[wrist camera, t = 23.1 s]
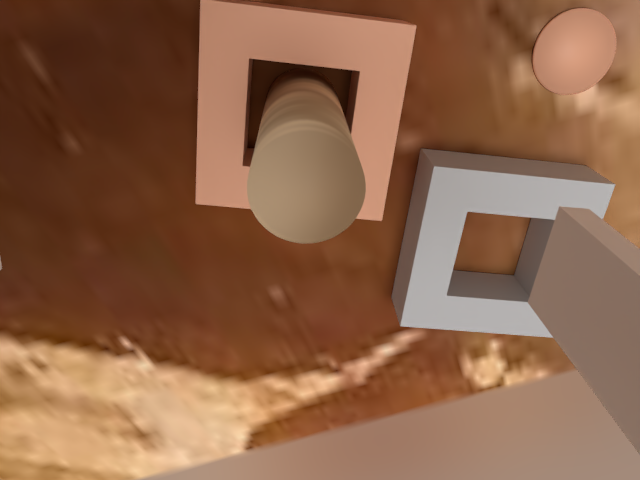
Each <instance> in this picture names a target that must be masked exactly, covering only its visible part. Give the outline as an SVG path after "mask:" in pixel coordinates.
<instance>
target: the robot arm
mask: <svg viewBox="0 0 640 480" xmlns="http://www.w3.org/2000/svg"><path fill="white" fill-rule="evenodd" d="M1 269H2V265H1V258H0V270H1ZM528 304H529V305H530V306H531V308H532V309H533V310H534V312H535V313H536V315H537V316H538V317H539V319H540V320H541V321H542V323H543V324H544V325H545V327H546V328H547V329H548V331H549V332H550V334H551V335H552V336H553V338H554V339H555V340H556V342H557V343H558V344H559V346H560V347H561V348H562V350H563V351H564V353H565V354H566V355H567V357H568V358H569V359H570V361H571V362H572V363H573V365H574V366H575V367H576V369H577V370H578V372H579V373H580V374H581V376H582V377H583V378H584V380H585V381H586V382H587V384H588V385H589V387H590V388H591V389H592V390H593V392H594V393H595V395H596V396H597V397H598V399H599V400H600V401H601V403H602V404H603V406H604V407H605V408H606V410H607V411H608V412H609V414H610V415H611V416H612V418H613V419H614V420H615V422H616V423H617V425H618V426H619V427H620V428H621V430H622V431H623V433H624V434H625V435H626V437H627V438H628V439H629V441H630V442H631V443H632V445H633V446H634V447H635V449H636V450H637V452H638V453H639V454H640V249H639V248H638V247H637V246H635V245H634V244H633V243H632V242H630V241H629V240H628V239H626V238H625V237H624V236H623V235H621V234H620V233H619V232H618V231H616V230H615V229H614V228H613V227H611V226H610V225H609V224H607V223H606V222H605V221H604V220H602V219H601V218H600V217H599V216H597V215H596V214H595V213H594V212H592V211H591V210H590V209H585V208H573V207H562V206H559V209H558V212H557V215H556V218H555V221H554V224H553V227H552V230H551V233H550V236H549V239H548V242H547V245H546V248H545V251H544V254H543V257H542V260H541V263H540V266H539V269H538V272H537V275H536V278H535V282H534V285H533V288H532V291H531V294H530V297H529V300H528Z"/></svg>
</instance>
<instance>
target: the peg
mask: <svg viewBox="0 0 640 480" xmlns="http://www.w3.org/2000/svg"><path fill="white" fill-rule="evenodd" d="M365 192H366V182H365V176H364V172H363V169H362V166H361V163H360V160H359V157H358V154H357V151H356V148H355V145H354V143H353V140H352V137H351V134H350V131H349V128H348V125H347V122H346V119H345V116H344V113H343V111H342V108H341V105H340V102H339V99H338V96H337V93H336V91H335V88H334V87H333V85H332V83H331V82H330V81H329V80H328V79H327V78H326V77H325V76H324V75H322V74H321V73H319V72H317V71H315V70H312V69H307V68H297V69H292V70H289V71H287V72H285V73H283V74H282V75H280V76H279V77H278V78H277V79H276V80H275V81H274V82H273V83H272V85H271V86H270V89H269V91H268V94H267V97H266V102H265V106H264V110H263V114H262V119H261V123H260V127H259V131H258V136H257V140H256V144H255V149H254V153H253V157H252V161H251V166H250V170H249V174H248V180H247V196H248V200H249V204H250V207H251V209H252V211H253V213H254V215H255V217H256V218H257V219H258V221H259V222H260V223H261V224H262V225H263V226H264V227H265V228H266V229H267V230H268V231H269V232H271V233H272V234H274V235H276V236H277V237H280V238H282V239H284V240H287V241H290V242H295V243H317V242H322V241H325V240H328V239H330V238H333V237H335V236H337V235H338V234H340V233H341V232H343V231H344V230H345V229H347V228H348V227H349V226H350V225H351V224H352V222H353V221H354V220H355V219H356V217H357V216H358V214H359V212H360V210H361V208H362V206H363V202H364V199H365Z"/></svg>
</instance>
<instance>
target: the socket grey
mask: <svg viewBox="0 0 640 480" xmlns="http://www.w3.org/2000/svg"><path fill="white" fill-rule="evenodd" d="M614 187H615V184H614V183H612V182H611V181H609V180H608V179H606V178H605V177H603V176H601V175H600V174H598V173H597V172H595V171H594V170H592V169H591V168H589V167H588V166H586V165H577V164H568V163H558V162H548V161H539V160H529V159H519V158H510V157H500V156H490V155H480V154H471V153H461V152H451V151H442V150H432V149H422V148H421V150H420V155H419V160H418V166H417V171H416V176H415V181H414V186H413V191H412V196H411V201H410V206H409V211H408V216H407V221H406V226H405V231H404V236H403V241H402V246H401V251H400V256H399V261H398V266H397V271H396V276H395V281H394V287H393V292H392V301H393V304H394V307H395V311H396V314H397V317H398V320H399V324H400V326H404V327H418V328H431V329H445V330H458V331H472V332H485V333H499V334H512V335H526V336H539V337H553V336H552V335H551V334H550V332H549V331H548V329H547V328H546V327H545V325H544V324H543V323H542V321H541V320H540V319H539V317H538V316H537V315H536V313H535V312H534V310H533V309H532V308H531V306H530V305H529V304H528V300H529V297H530V294H531V291H532V288H533V285H534V282H535V278H536V275H537V272H538V269H539V266H540V263H541V260H542V257H543V254H544V251H545V248H546V245H547V242H548V239H549V236H550V233H551V230H552V227H553V224H554V221H555V218H556V215H557V212H558V209H559V206H562V207H573V208H585V209H590V210H591V211H592V212H594V213H595V214H596V215H597V216H599V217H600V218H601V219H602V220H603V217H604V215H605V212H606V209H607V206H608V204H609V201H610V198H611V195H612V192H613V190H614ZM467 212H477V213H488V214H499V215H509V216H520V217H531V221H530V224H529V227H528V231H527V234H526V237H525V241H524V244H523V247H522V251H521V254H520V257H519V261H518V264H517V267H516V270H515V274H514V275H504V274H492V273H480V272H468V271H456V270H453V267H454V263H455V259H456V255H457V251H458V247H459V243H460V239H461V235H462V231H463V227H464V223H465V219H466V215H467Z"/></svg>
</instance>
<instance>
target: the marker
mask: <svg viewBox="0 0 640 480" xmlns="http://www.w3.org/2000/svg"><path fill="white" fill-rule="evenodd" d="M615 52H616V34H615V30H614V28H613V26H612V24H611V22H610V21H609V20H608V18H607V17H606V16H604V15H603V14H602V13H600V12H598V11H596V10H593V9H588V8H575V9H570V10H567V11H565V12H563V13H561V14H559V15H557V16H556V17H554V18H553V19H552V20H551V21H549V22H548V23H547V25H546V26H545V27H544V28H543V29H542V31H541V32H540V34H539V36H538V38H537V40H536V42H535V45H534V48H533V53H532V66H533V70H534V73H535V76H536V78H537V79H538V81H539V82H540V83H541V84H542V85H543V86H544V87H545V88H546V89H548V90H550V91H552V92H554V93H557V94H562V95H572V94H577V93H580V92H583V91H585V90H587V89H589V88H591V87H592V86H594V85H595V84H596V83H597V82H599V81H600V80H601V79H602V77H603V76H604V75H605V74H606V72H607V71H608V69H609V68H610V66H611V64H612V62H613V59H614V56H615Z"/></svg>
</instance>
